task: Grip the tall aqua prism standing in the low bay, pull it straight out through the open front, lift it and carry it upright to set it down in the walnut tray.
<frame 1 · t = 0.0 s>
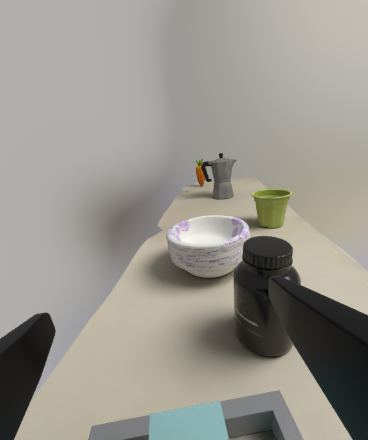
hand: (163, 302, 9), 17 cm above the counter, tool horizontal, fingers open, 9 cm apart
supplement bottle: (263, 334, 26), on the counter
coffeepot: (220, 197, 90), on the counter
paper bowls: (209, 265, 41), on the counter
carrot: (201, 186, 118), on the counter
plant pot: (270, 225, 57), on the counter
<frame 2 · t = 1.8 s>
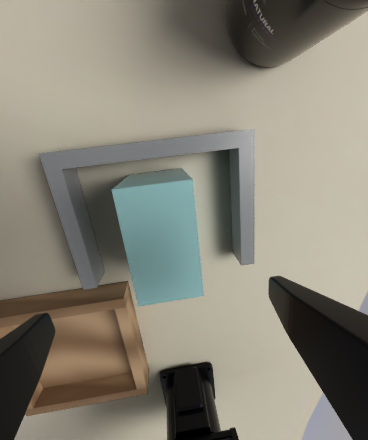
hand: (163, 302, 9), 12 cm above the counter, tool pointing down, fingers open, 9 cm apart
bay: (162, 215, 19), on the counter
supplement bottle: (269, 17, 16), on the counter
tall aqua prism: (162, 214, 20), on the counter
tray: (80, 339, 23), on the counter
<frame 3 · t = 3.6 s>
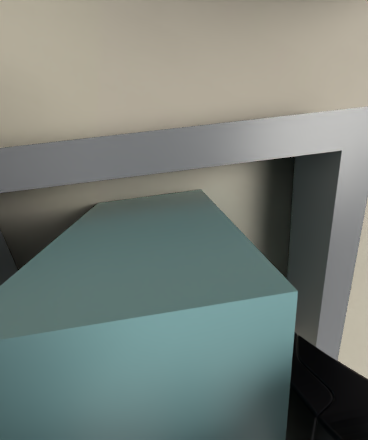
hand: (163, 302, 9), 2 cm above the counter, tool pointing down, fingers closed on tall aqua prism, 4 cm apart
bay: (163, 274, 10), on the counter
tall aqua prism: (163, 274, 10), on the counter, touching gripper
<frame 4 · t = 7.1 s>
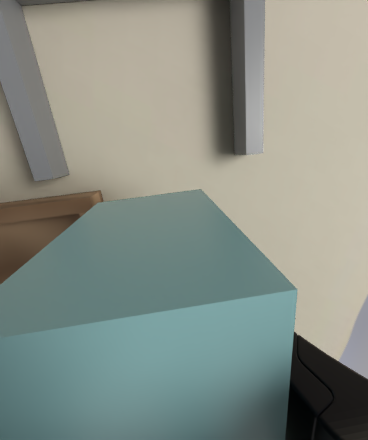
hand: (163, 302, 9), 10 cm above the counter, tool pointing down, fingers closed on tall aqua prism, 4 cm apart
bay: (142, 91, 15), on the counter
tall aqua prism: (163, 274, 10), point 8 cm above the counter, touching gripper
tray: (43, 272, 18), on the counter
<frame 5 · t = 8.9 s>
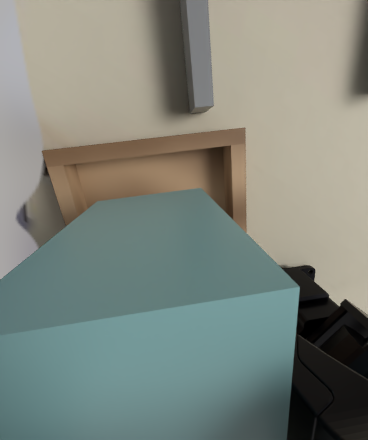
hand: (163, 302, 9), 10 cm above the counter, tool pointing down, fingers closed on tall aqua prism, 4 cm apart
bay: (293, 20, 14), on the counter
tall aqua prism: (163, 273, 10), point 8 cm above the counter, touching gripper
tray: (161, 220, 18), on the counter
when the fingers open (4 cm above the counter, at t = 10.7 s): tall aqua prism drops 1 cm, resting on tray.
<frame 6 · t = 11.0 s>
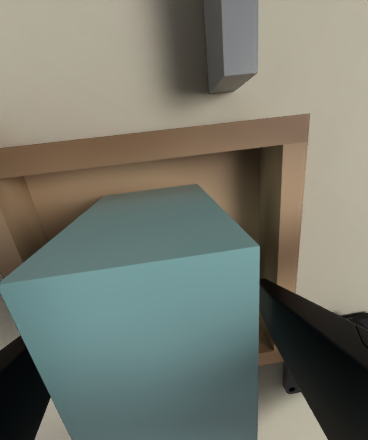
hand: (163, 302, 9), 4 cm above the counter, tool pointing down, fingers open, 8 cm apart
tall aqua prism: (163, 261, 12), point 1 cm above the counter, touching tray
tray: (162, 257, 12), on the counter
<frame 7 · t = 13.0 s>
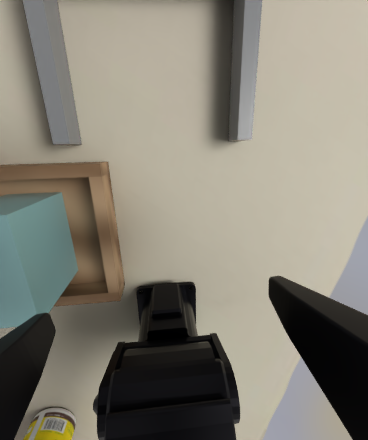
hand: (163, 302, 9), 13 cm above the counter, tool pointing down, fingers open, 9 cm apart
bay: (153, 77, 17), on the counter
tall aqua prism: (45, 235, 20), point 1 cm above the counter, touching tray
tray: (48, 233, 20), on the counter
supplement bottle 2: (57, 416, 29), on the counter
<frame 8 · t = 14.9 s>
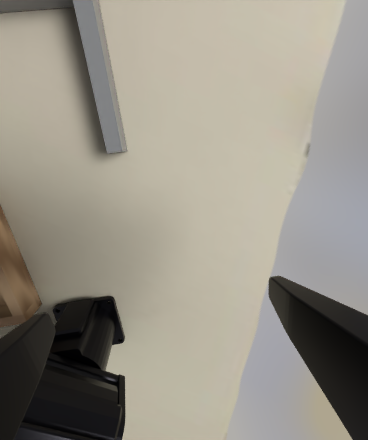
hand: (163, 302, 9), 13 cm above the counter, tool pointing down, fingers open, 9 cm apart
bay: (17, 96, 17), on the counter
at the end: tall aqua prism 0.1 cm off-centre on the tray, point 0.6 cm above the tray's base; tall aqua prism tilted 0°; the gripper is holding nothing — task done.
